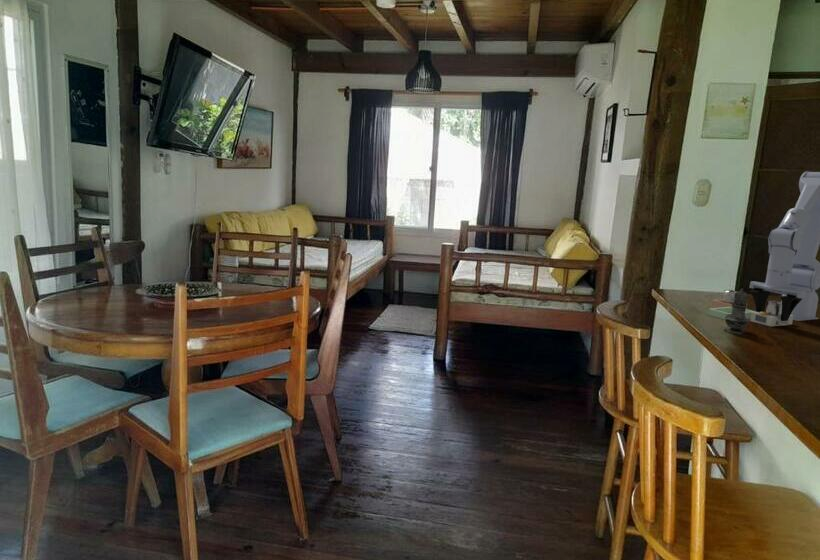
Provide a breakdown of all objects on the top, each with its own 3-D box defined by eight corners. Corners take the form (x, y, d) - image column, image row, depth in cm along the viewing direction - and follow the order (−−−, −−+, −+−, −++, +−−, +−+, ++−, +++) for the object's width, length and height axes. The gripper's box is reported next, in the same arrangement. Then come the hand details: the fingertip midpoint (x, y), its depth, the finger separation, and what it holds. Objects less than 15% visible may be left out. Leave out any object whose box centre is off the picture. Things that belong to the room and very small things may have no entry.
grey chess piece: (752, 335, 138) (759, 291, 136) (727, 333, 139) (734, 289, 137) (742, 329, 144) (749, 286, 141) (719, 328, 145) (725, 285, 142)
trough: (734, 313, 163) (735, 306, 162) (756, 319, 156) (757, 311, 156) (706, 315, 158) (707, 308, 158) (727, 321, 152) (728, 314, 152)
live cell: (769, 320, 154) (772, 299, 152) (781, 323, 150) (785, 302, 149) (760, 321, 152) (764, 300, 151) (772, 324, 149) (776, 302, 148)
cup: (725, 308, 170) (727, 299, 170) (745, 313, 164) (747, 303, 163) (710, 309, 168) (712, 300, 167) (730, 314, 161) (731, 304, 161)
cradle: (771, 320, 156) (773, 308, 155) (791, 325, 150) (793, 313, 150) (749, 322, 152) (751, 310, 152) (769, 327, 147) (771, 315, 146)
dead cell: (727, 308, 168) (729, 289, 167) (737, 310, 165) (740, 291, 164) (718, 308, 167) (721, 289, 166) (729, 311, 163) (732, 291, 162)
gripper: (745, 267, 154) (738, 312, 156) (796, 275, 140) (788, 324, 143) (762, 266, 156) (754, 310, 159) (813, 275, 143) (805, 323, 145)
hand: (771, 317), depth 151 cm, fingers open, 6 cm apart
